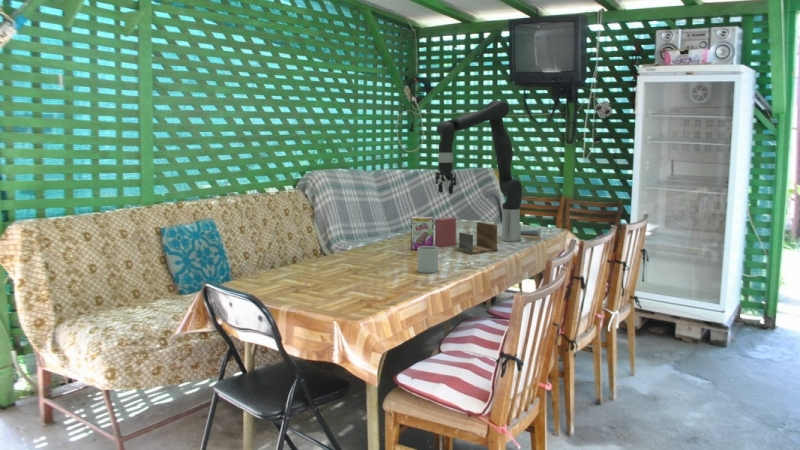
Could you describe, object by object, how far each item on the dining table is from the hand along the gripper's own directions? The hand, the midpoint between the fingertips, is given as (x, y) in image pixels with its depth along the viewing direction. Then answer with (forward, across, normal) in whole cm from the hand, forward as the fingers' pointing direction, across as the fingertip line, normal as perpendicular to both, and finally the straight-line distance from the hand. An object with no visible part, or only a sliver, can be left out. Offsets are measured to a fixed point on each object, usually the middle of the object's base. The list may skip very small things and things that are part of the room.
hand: (445, 193), depth 345 cm
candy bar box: (+28, -2, +16) cm, 32 cm away
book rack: (+27, -21, -3) cm, 35 cm away
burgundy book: (+27, 0, 0) cm, 27 cm away
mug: (+28, -45, +42) cm, 67 cm away
